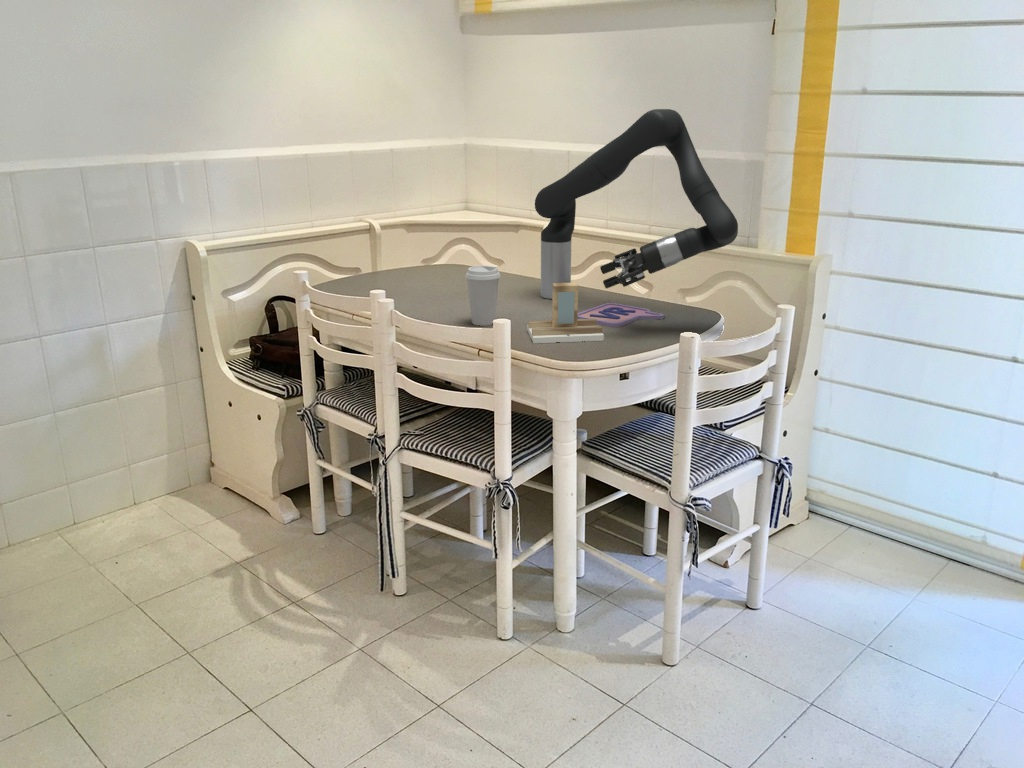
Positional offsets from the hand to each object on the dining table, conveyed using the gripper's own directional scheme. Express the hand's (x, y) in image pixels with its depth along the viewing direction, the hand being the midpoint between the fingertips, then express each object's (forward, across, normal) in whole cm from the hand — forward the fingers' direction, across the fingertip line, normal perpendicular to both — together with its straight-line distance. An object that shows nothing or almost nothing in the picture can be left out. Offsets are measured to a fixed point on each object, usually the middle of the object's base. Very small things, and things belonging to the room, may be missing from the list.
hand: (602, 277), depth 216 cm
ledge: (+14, +9, +7) cm, 18 cm away
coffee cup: (+35, -3, +1) cm, 35 cm away
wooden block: (+14, +9, +6) cm, 17 cm away
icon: (+1, -8, +18) cm, 19 cm away
